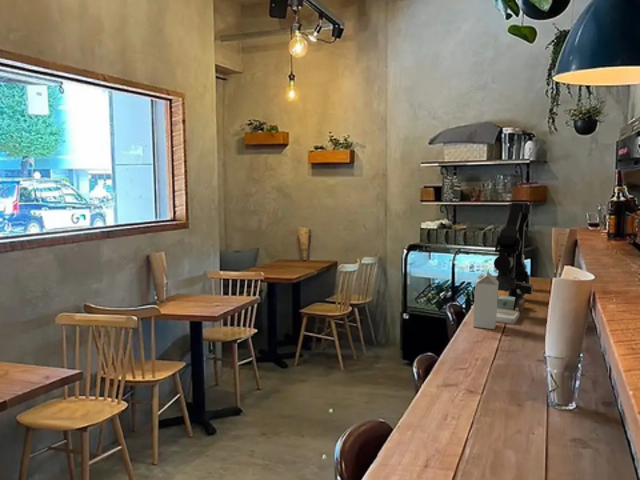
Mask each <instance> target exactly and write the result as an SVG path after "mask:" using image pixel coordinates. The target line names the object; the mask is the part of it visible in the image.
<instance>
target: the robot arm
mask: <svg viewBox="0 0 640 480" xmlns="http://www.w3.org/2000/svg"><path fill="white" fill-rule="evenodd" d="M532 211H533V206H532V205H531V204H530V203H529V202H525V201H523V202H521V201H512V202H510V203H507V214H508V216H507V220H506V223H505V227H504V228H502V229H500V232H499V234H498V235H497V238H496V242H495V249H494V253H498V256H497V257H496V258H494V261H493V267H494V268H495V269H496V270H497V271H498V273H497V276H496V277H495V279H496V280H497V281H498V282H499V284H498V292H499V291H501V292H507V293H508V295H507V296H509V297H515V302H514V307H513V310H514V311H516V310H517V308H518V307H517V304H518V302H519V300H520V299H526V297H525V296H526V295H531V294H533V292H534V285H533V284H532V283H530V274H529V271H527V268H528V267H527V266H528V265H527V264H526V262H525V260H524V261H523V255H524V247H525V244H524V243H525V232H526V231H525V230H526V227H525V226H526V223H527V221H529V219H530V217H531V215H532ZM515 309H516V310H515Z"/></svg>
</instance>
